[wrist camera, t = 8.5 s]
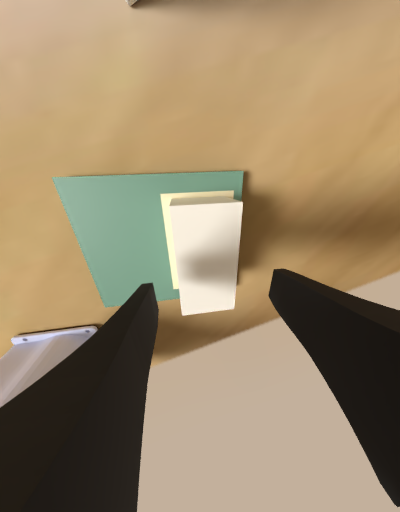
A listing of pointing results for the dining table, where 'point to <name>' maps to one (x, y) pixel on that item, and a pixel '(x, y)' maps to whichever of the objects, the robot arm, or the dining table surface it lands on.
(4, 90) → the dining table surface
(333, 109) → the dining table surface
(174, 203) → the block
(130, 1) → the small box
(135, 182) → the board
